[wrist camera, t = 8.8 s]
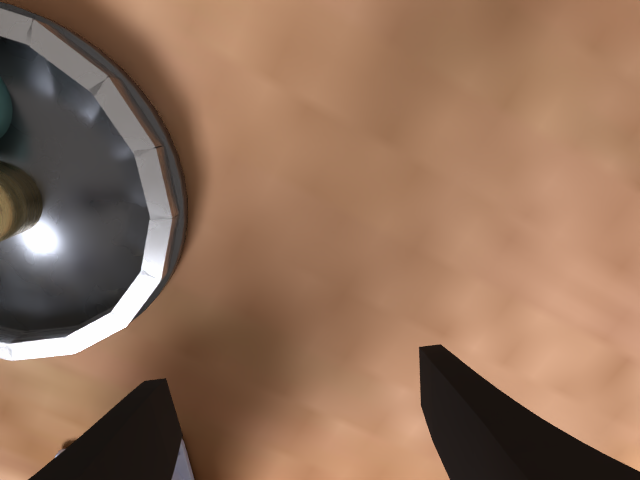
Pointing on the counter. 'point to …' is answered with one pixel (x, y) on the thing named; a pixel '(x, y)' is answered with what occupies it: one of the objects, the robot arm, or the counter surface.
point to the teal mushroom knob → (5, 108)
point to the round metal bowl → (79, 193)
